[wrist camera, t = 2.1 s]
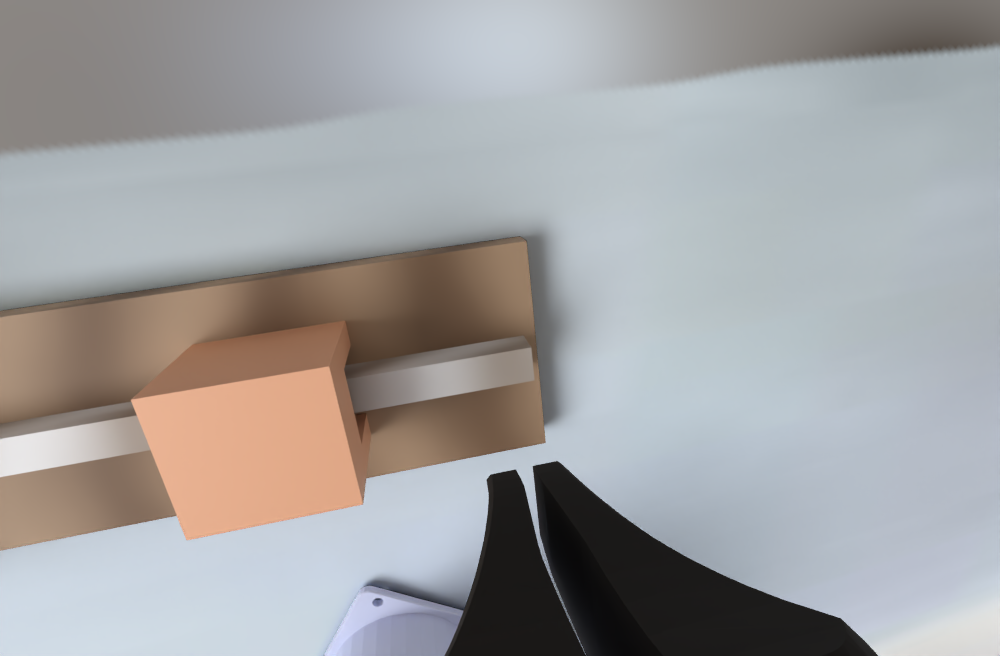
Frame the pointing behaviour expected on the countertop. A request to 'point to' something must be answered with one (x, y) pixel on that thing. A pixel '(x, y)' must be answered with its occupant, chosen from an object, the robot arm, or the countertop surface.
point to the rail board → (250, 311)
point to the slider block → (257, 430)
